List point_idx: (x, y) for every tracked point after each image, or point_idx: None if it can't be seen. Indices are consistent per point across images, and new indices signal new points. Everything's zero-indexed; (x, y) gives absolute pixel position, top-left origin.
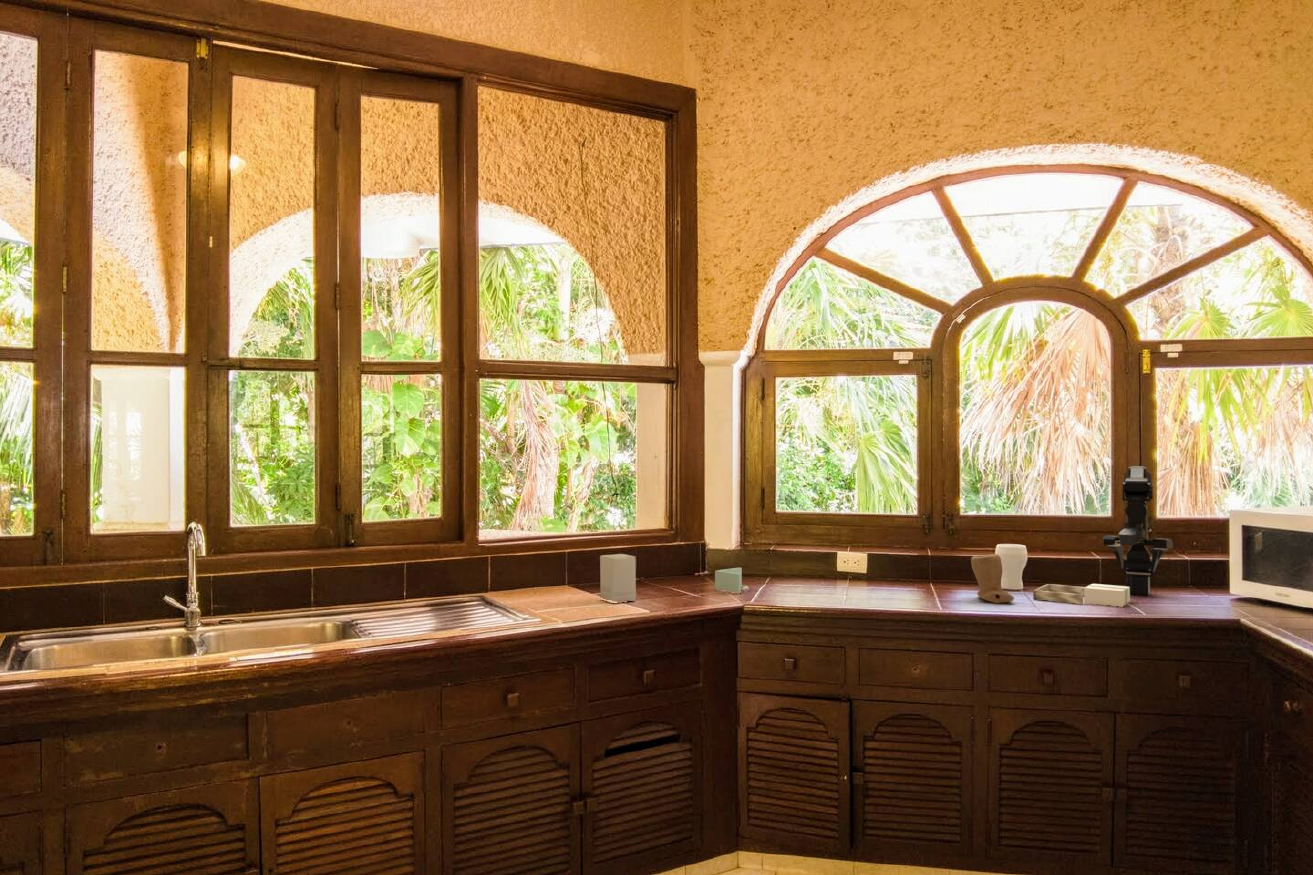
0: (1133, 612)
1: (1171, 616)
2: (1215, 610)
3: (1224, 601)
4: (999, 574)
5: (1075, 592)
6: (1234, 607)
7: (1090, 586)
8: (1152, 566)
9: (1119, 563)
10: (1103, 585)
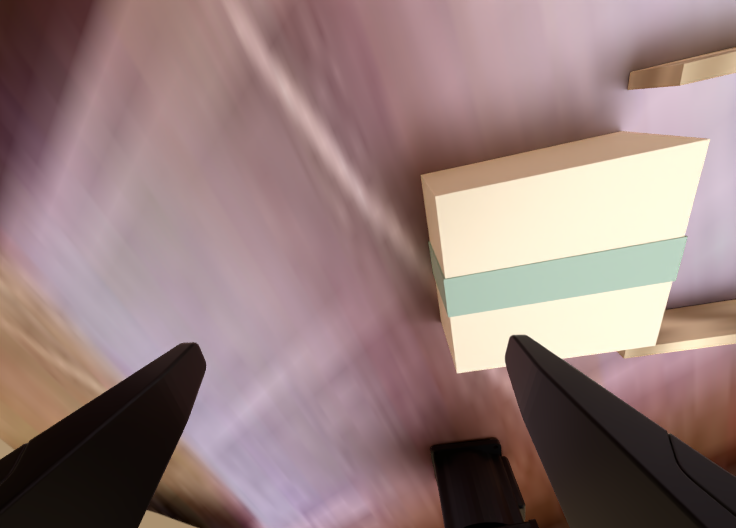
0: (309, 38)
1: (128, 84)
2: None
3: (243, 490)
4: None
5: (694, 317)
6: None
7: (662, 237)
8: (147, 374)
9: (562, 369)
10: (587, 326)
